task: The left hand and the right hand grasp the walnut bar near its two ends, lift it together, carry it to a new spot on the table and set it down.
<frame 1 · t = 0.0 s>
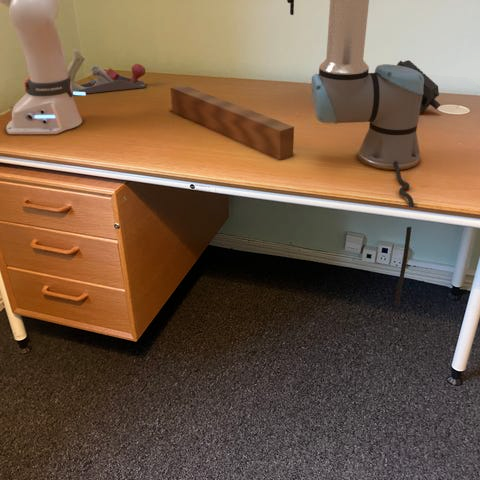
right hand: (313, 13, 166), 28 cm above the table, tool pointing down, fingers open, 13 cm apart
hand plane: (105, 89, 198), on the table
tool: (406, 109, 173), on the table
bar: (226, 131, 159), on the table
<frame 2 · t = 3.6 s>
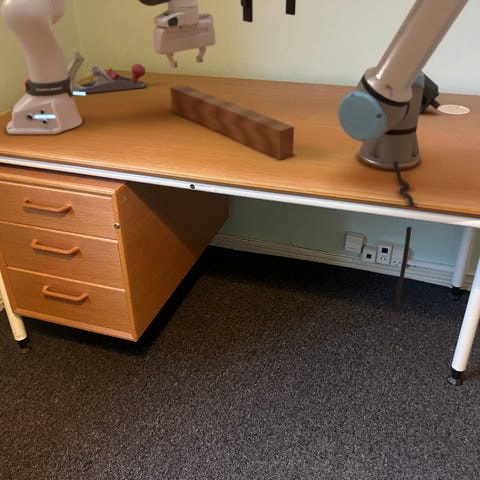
left hand: (187, 64, 163), 16 cm above the table, tool pointing down, fingers open, 8 cm apart
right hand: (269, 18, 128), 34 cm above the table, tool pointing down, fingers open, 13 cm apart
nothing on the table moved.
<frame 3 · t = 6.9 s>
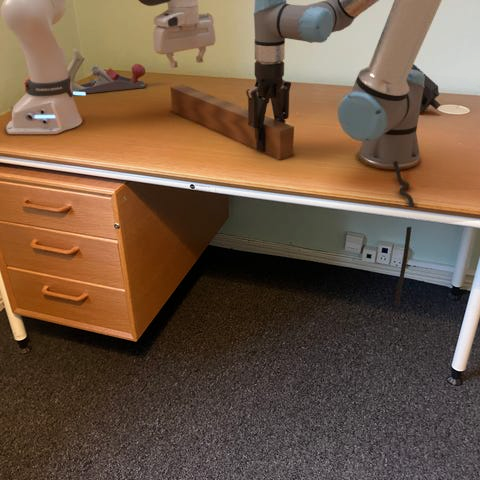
left hand: (187, 64, 163), 16 cm above the table, tool pointing down, fingers open, 8 cm apart
right hand: (268, 147, 146), 1 cm above the table, tool pointing down, fingers closed on bar, 5 cm apart
bar: (226, 131, 159), on the table, touching right hand
everything else where it was.
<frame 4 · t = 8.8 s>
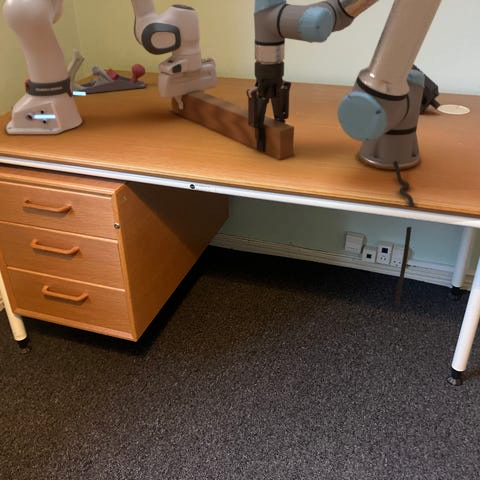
left hand: (190, 106, 170), 3 cm above the table, tool pointing down, fingers closed on bar, 5 cm apart
right hand: (268, 147, 146), 1 cm above the table, tool pointing down, fingers closed on bar, 5 cm apart
bar: (226, 131, 159), on the table, touching right hand, left hand
everything else where it was.
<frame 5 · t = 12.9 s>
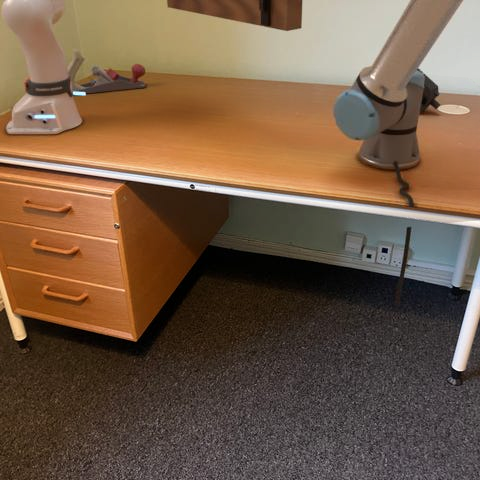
right hand: (274, 23, 131), 32 cm above the table, tool pointing down, fingers closed on bar, 5 cm apart
bar: (226, 16, 144), point 32 cm above the table, touching right hand, left hand
everything else where it was.
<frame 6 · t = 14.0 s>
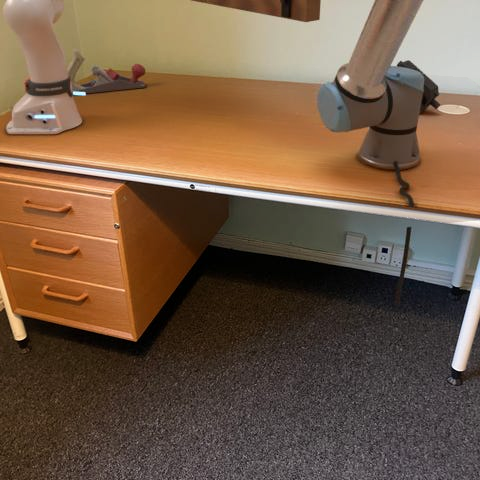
right hand: (293, 15, 139), 32 cm above the table, tool pointing down, fingers closed on bar, 5 cm apart
bar: (247, 9, 153), point 32 cm above the table, touching right hand, left hand
everything else where it was.
when the right hand's fingers open (1 cm above the table, at t = 19.0 s): bar stays where it is, on the table.
when the left hand's fingers open (4 cm above the table, at t = 19.2 s): bar stays where it is, on the table.
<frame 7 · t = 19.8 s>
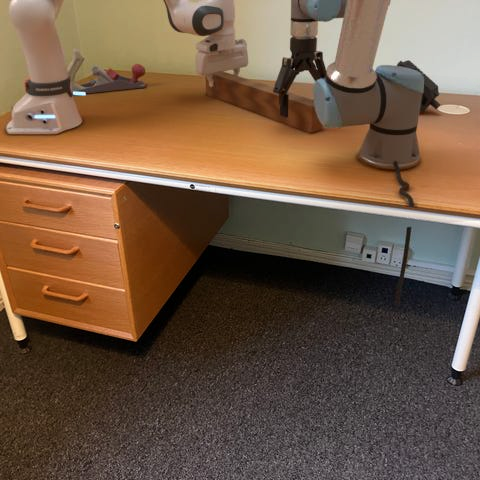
left hand: (223, 83, 185), 5 cm above the table, tool pointing down, fingers open, 8 cm apart
right hand: (300, 111, 159), 4 cm above the table, tool pointing down, fingers open, 13 cm apart
bar: (258, 110, 174), on the table
everything else where it was.
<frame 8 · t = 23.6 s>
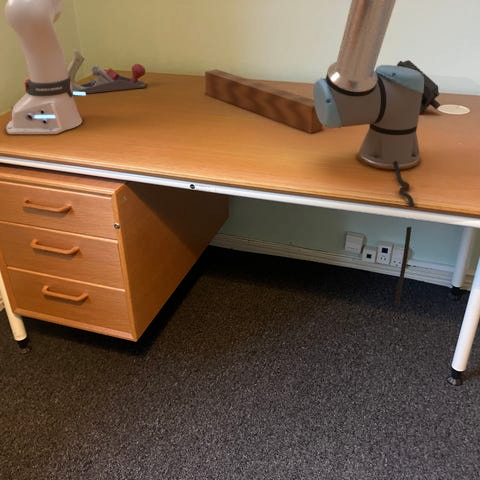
nothing on the table moved.
at the end: bar inside the target area (0.2 cm from its centre), on the table; bar tilted 0°; bar never tilted more than 1° during the clip; both hands held the bar at the same time; the left hand is holding nothing; the right hand is holding nothing; bar at rest at the end (0.0 cm/s) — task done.
